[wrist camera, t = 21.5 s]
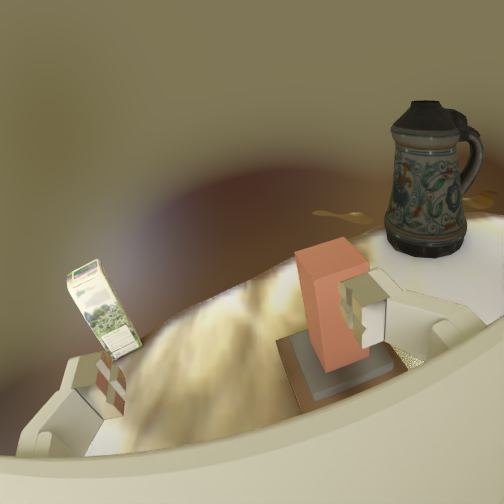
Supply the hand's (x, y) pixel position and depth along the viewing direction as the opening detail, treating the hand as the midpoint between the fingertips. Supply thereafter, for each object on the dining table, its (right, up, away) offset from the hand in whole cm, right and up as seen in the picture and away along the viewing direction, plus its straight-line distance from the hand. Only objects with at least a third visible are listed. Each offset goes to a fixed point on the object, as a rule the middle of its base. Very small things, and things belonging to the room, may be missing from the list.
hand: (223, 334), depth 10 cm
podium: (+11, -11, +25) cm, 29 cm away
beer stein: (+35, +6, +45) cm, 57 cm away
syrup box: (-20, -13, +38) cm, 44 cm away
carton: (+10, -8, +23) cm, 26 cm away
